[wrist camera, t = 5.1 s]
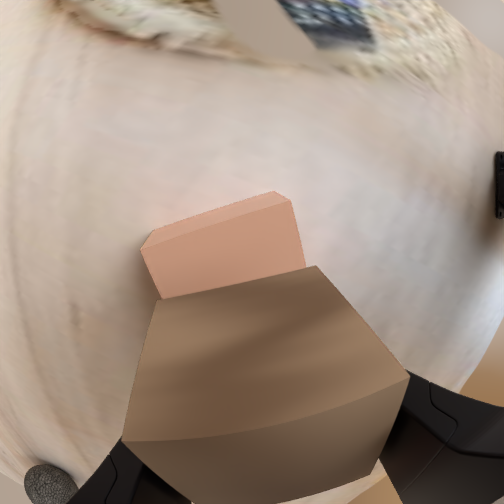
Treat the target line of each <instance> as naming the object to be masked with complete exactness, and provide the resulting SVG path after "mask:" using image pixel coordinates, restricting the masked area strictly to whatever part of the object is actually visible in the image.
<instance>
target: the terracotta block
mask: <svg viewBox="0 0 504 504" xmlns="http://www.w3.org/2000/svg"><path fill="white" fill-rule="evenodd" d="M140 252H141V254H142V256H143V259H144V261H145V263H146V265H147V268H148V270H149V272H150V274H151V276H152V279H153V281H154V283H155V285H156V287H157V289H158V291H159V294H160V296H161V298H162V299H166V298H171V297H176V296H181V295H186V294H191V293H195V292H200V291H205V290H210V289H214V288H219V287H224V286H228V285H233V284H238V283H242V282H247V281H251V280H256V279H260V278H265V277H269V276H273V275H278V274H282V273H286V272H291V271H295V270H299V269H303V268H306V263H305V259H304V254H303V250H302V245H301V241H300V237H299V232H298V228H297V224H296V220H295V216H294V212H293V208H292V203H291V200H289V199H288V198H286V197H284V196H282V195H281V194H279V193H277V192H275V191H272V192H268V193H265V194H262V195H258V196H255V197H252V198H248V199H245V200H242V201H239V202H236V203H232V204H229V205H226V206H223V207H220V208H217V209H214V210H211V211H208V212H205V213H202V214H199V215H196V216H193V217H190V218H187V219H184V220H181V221H178V222H175V223H173V224H170V225H167V226H164V227H161V228H159V229H156V230H153V231H152V233H151V234H150V236H149V237H148V239H147V240H146V241H145V243H144V244H143V246H142V247H141V249H140Z"/></svg>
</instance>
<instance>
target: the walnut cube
mask: <svg viewBox="0 0 504 504" xmlns="http://www.w3.org/2000/svg"><path fill="white" fill-rule="evenodd" d="M409 379H410V375H409V374H408V373H407V371H406V370H405V369H404V368H403V367H402V365H401V364H400V363H399V362H398V360H397V359H396V358H395V357H394V355H393V354H392V353H391V352H390V351H389V349H388V348H387V347H386V346H385V344H384V343H383V342H382V341H381V340H380V338H379V337H378V336H377V335H376V334H375V332H374V331H373V330H372V329H371V328H370V327H369V325H368V324H367V323H366V322H365V321H364V319H363V318H362V317H361V316H360V315H359V314H358V312H357V311H356V310H355V309H354V308H353V307H352V306H351V304H350V303H349V302H348V301H347V300H346V299H345V297H344V296H343V295H342V294H341V293H340V292H339V291H338V289H337V288H336V287H335V286H334V285H333V284H332V283H331V282H330V280H329V279H328V278H327V277H326V276H325V275H324V274H323V273H322V271H321V270H320V269H319V268H318V267H317V266H312V267H307V268H303V269H299V270H295V271H291V272H286V273H282V274H278V275H273V276H269V277H265V278H260V279H256V280H251V281H247V282H242V283H238V284H233V285H228V286H224V287H219V288H214V289H210V290H205V291H200V292H195V293H191V294H186V295H181V296H176V297H171V298H166V299H161V300H157V302H156V305H155V308H154V311H153V315H152V318H151V321H150V325H149V328H148V332H147V335H146V338H145V342H144V346H143V349H142V353H141V357H140V360H139V364H138V368H137V372H136V376H135V380H134V384H133V388H132V392H131V397H130V401H129V405H128V410H127V415H126V419H125V424H124V429H123V435H122V440H121V441H122V442H123V443H124V444H125V445H126V446H127V447H128V448H129V449H130V450H131V451H132V452H133V453H134V454H135V455H136V456H137V457H138V458H139V459H140V460H141V461H142V462H143V463H144V464H146V465H147V466H148V467H149V468H150V469H151V470H152V471H153V472H155V473H156V474H157V475H158V476H159V477H160V478H162V479H163V480H164V481H165V482H167V483H168V484H169V485H170V486H172V487H173V488H174V489H175V490H177V491H178V492H179V493H181V494H182V495H183V496H185V497H186V498H187V499H189V500H190V501H192V502H193V503H195V504H277V503H282V502H286V501H291V500H295V499H299V498H303V497H307V496H310V495H314V494H317V493H321V492H324V491H327V490H330V489H333V488H336V487H339V486H342V485H345V484H347V483H350V482H353V481H355V480H358V479H360V478H363V477H365V476H368V475H370V474H371V472H372V470H373V468H374V466H375V464H376V462H377V460H378V458H379V456H380V454H381V452H382V449H383V447H384V445H385V443H386V441H387V438H388V436H389V434H390V431H391V429H392V427H393V424H394V422H395V419H396V417H397V414H398V411H399V409H400V406H401V403H402V400H403V397H404V395H405V392H406V389H407V385H408V382H409Z"/></svg>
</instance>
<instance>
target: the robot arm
mask: <svg viewBox="0 0 504 504" xmlns="http://www.w3.org/2000/svg"><path fill="white" fill-rule="evenodd" d="M496 163H497V196H496V218H498V219H502V218H504V152H502V151H498V152H497V154H496ZM405 370H406V369H405ZM406 371H407V373H408V374H409V375H410V379H409V382H408V385H407V389H406V392H405V395H404V397H403V400H402V403H401V406H400V409H399V411H398V414H397V417H396V419H395V422H394V424H393V427H392V429H391V431H390V434H389V436H388V438H387V441H386V443H385V445H384V447H383V449H382V452H381V454H380V456H379V460H380V462H381V463H382V465H383V467H384V469H385V471H386V473H387V475H388V476H389V478H390V480H391V482H392V484H393V486H394V488H395V489H396V491H397V493H398V495H400V496H399V497H400V499H401V501H402V503H403V504H504V407H500V406H495V405H492V404H488V403H485V402H481V401H478V400H475V399H472V398H469V397H466V396H463V395H460V394H458V393H455V392H452V391H450V390H448V389H445V388H443V387H441V386H439V385H436V384H434V383H432V382H429V381H428V380H426V379H424V378H422V377H420V376H418V375H416V374H414V373H412V372H410V371H408V370H406ZM121 440H122V436H121V438H120V439H119V440H118V442H117V443H116V445H115V446H114V447H113V449H112V450H111V451H110V453H109V454H110V455H107V457H106V458H105V459H104V461H103V462H102V463H101V465H100V466H99V467H98V469H97V470H96V471H95V472H94V474H93V475H92V476H91V477H90V478H89V479H88V480H87V481H86V483H85V484H84V485H83V486H82V487H81V488H80V489H79V490H78V491H77V492H76V493H75V494H74V495H73V496H72V497H71V498H70V499H69V500H68V501H67V502H66V503H65V504H191V501H190V500H189V499H187V498H186V497H185V496H183V495H182V494H181V493H179V492H178V491H177V490H175V489H174V488H173V487H172V486H170V485H169V484H168V483H167V482H165V481H164V480H163V479H162V478H160V477H159V476H158V475H157V474H156V473H155V472H153V471H152V470H151V469H150V468H149V467H148V466H147V465H146V464H144V463H143V462H142V461H141V460H140V459H139V458H138V457H137V456H136V455H135V454H134V453H133V452H132V451H131V450H130V449H129V448H128V447H127V446H126V445H125V444H124V443H123V442H122V441H121Z"/></svg>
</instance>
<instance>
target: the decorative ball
mask: <svg viewBox="0 0 504 504" xmlns="http://www.w3.org/2000/svg"><path fill="white" fill-rule="evenodd" d="M24 486H25V491H26V493H27V495H28V497H29V499H30V500H31V501H32V503H34V504H65V503H66V502H67V501H68V500H69V499H70V498H71V497H72V496H73V495H74V494H75V493H76V492H77V491H78V490H79V488H78V487H77V485H76V484H75V482H74V481H73V480H72V479H71V478H70V477H69V476H68V475H67V474H66V473H64V472H63V471H61V470H60V469H58V468H55V467H53V466H49V465H37V466H34V467H32V468H30V469H29V470H28V472H27V473H26V475H25V479H24Z"/></svg>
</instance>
